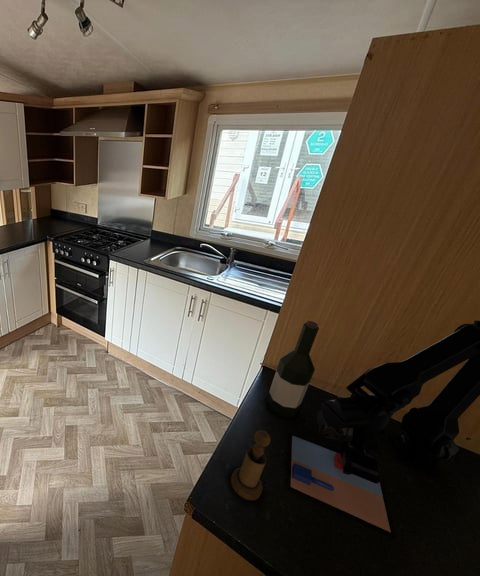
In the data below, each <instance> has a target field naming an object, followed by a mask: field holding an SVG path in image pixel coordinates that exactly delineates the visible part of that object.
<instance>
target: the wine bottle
mask: <svg viewBox="0 0 480 576" xmlns="http://www.w3.org/2000/svg"><path fill="white" fill-rule="evenodd" d="M319 329H320V327H319V324H318V323H317V322H315V321H312V320H307V321H306V322H305V323H304V324H303V325H302V328H301V331H300V333H299V336H298V339H297V341H296V343H295V344H296V345H295V347H294V349H293V350H291V351H290V352H288V353H287V354H285V355H284V356H282V357H281V358H279V362H278V364H277V367H276V371H275V373H274V376H273V379H272V382H271V385H270V388H269V392H268V395H267V397H266V400H265V403H266V404H267V406H268V409H269V410H271V411H272V412H274V413H275V414H277V415H279V416H281V417H288V418H293V417H294V416H295V415H296V414H297V413H298V412H299V410H300V408H301V405H302V402H303V400H304V398H305V395H306V392H307V390H308V388H309V385H310V383H311V380H312V378H313V376H314V373H315V371H316V368H315V366H314V363H313V361H312V358H311V355H310V353H311V350H312V348H313V345H314V343H315V341H316V340H315V339H316V337H317V335H318V333H319Z"/></svg>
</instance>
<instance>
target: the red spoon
mask: <svg viewBox="0 0 480 576" xmlns="http://www.w3.org/2000/svg"><path fill="white" fill-rule="evenodd" d="M338 453H339V452H336V455H335V456H334V463H335V467H336V468H339V469H341V470H343V464H342V459H341V455H340V453H339V454H338Z"/></svg>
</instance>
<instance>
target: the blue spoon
mask: <svg viewBox="0 0 480 576" xmlns="http://www.w3.org/2000/svg"><path fill="white" fill-rule="evenodd" d="M292 478H293V479H296V480H298V481H300V482H302V483H305V484H307V485H309V486H310V484H311V482H312V483H315V484H317V485H319V486H322V487H324V488H326V489H328V490H331V491H333V490H334V487H333V486H332V485H330V484H328V483H326V482H323V481H321V480H319V479H317V478H314V477H312V470H310V469H308V468H305V467H303V466H300V465H298V464H296V463H294V465H293V467H292Z"/></svg>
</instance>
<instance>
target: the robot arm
mask: <svg viewBox="0 0 480 576" xmlns="http://www.w3.org/2000/svg"><path fill="white" fill-rule="evenodd" d="M463 362H465V363H463ZM461 364H462V366H461V367H460V368H459V369H458V371H457V372H455V374H454V375H453V376H452V377H451V379H450V380H449V381H448V382H447V384H445V385H444V387H443V388H441V391H439V393H438V394H437V395H436V396H435V397H434V398H433V400H432V401H431V402H430V403H429V404H428V405H423V406H417V407H416V406H415V407H411V408H410V409H409V410H408V412H407V413H405V414H404V415H403V416H402V417H401V423H400V429H401V430H403V431H404V432H405V434H404V435H403V434H402V435H401V436H400V437H399V439H398V440H397V441H395V445H394V446H395V450H396V453H397V455H399V458H400V460H401V461H402V462H404V463H406V464H410V465H412V466H414V467H418V468H420V469H423V470H426V471H429V472H431V473H434V474H436V473H437V470H436V468H435V467H436V464H437V463H438V462H439V461H440V459H444V460H445V461H447V460H450V459H451V457H452V456H455V455H456V454H457V453H458V452H459V451H460V448H459V447H458V445H457V444H456V442H455V441H454V440H455V439H456V438H457V437H458V435H459V434H460V426H459V418H461V416H462V415H463V414H464V413H465V412H466V411H467V410H468V409H469V407H471V406H472V404H474V402H475V401H476V400H477V399H478V398H479V397H480V320H476V319H475V320H474V321H473V322H472V323H463V324H461V325H459V326H457V328H455V330H454V331H453V333H451V334H448V335H447V336H445V337H444V338H441V339H440V340H439V341H437V342H435V343H433V344H431V345H429V346H428V347H426V348H424V349H422V350H420V351H419V352H417V353H415V354H414V355H412V356H410V357H408V358H407V359H404V360H402V361H393V362H392V361H390V362H388V361H387V362H384V363H382V364H379V365H377V366H375V367H371V368H369V369H367V370H366V371H365V372H363V373H362V374H361V375H360V376H358V377H357V378H356V379H355V380H353V381H352V382H351V383H350V384H348V386H346V387H345V389H346V390H347V391H348V392H349V393H350V396H347V397H343V396H342V397H341V396H340V397H336V398H335V399H328V400H325V401H324V402H322V404H321V407H320V408H321V409H320V410H319V411H317V413H316V414H317V415H316V418H317V428H318V433H319V434H320V435H322V436H323V437H324V438H325V439H327V440H328V439H330V440H335V441H338V440H340V439H341V442H340V452H339V454H341V459H342V464H343V473H344V474H347V475H350V474H353V475H356V476H358V477H361V478H363V479H365V480H368V481H370V482H373V483H375V484H377V483H379V482H380V483H381V481H382V479H384V477H383V473H382V468H381V465H380V462H378V460H377V459H375V458H374V457H373V456H372V455H370V451H369V450H371V451H374V452H377V451H378V449H379V447H378V443H377V442H378V441H379V439H382V440H384V439H385V438H386V436H387V435H386V432H385V428H386V427H387V425H388V424H389V422H390V421H391V419H392V418H393V415H394V414H395V413H397V412H398V411H399V410H401V409H404V408H406V406H408V405H410V404H411V403H412V401H413V400H414V399H415V398H416V397H418V396H419V395H420V393H421V391H422V387H423V385H424V384H426V383H428V382H429V381H430V380H433V379H434V378H436V377H438V376H440V375H442V374H444V373H446V372H448V371H449V370H451V369H453V368H455V367H457V366H458V365H461ZM362 387H365V388H366V390H368V391H369V392H371V393H368V392H367V391H365V390H364V389H363V388H362Z"/></svg>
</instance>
